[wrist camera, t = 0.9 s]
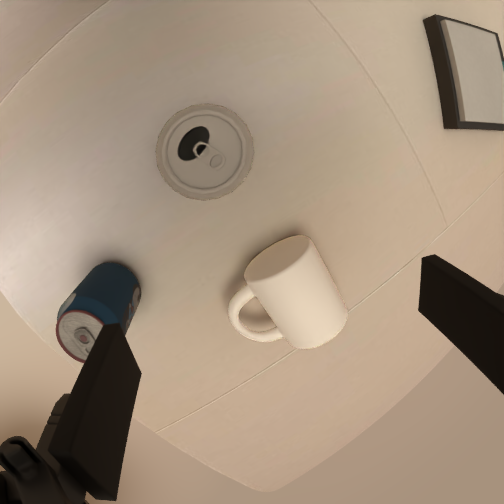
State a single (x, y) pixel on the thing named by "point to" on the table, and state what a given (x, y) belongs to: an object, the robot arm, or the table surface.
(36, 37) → the table surface
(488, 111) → the scale
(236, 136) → the can
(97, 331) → the soda can
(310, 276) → the white coffee cup
